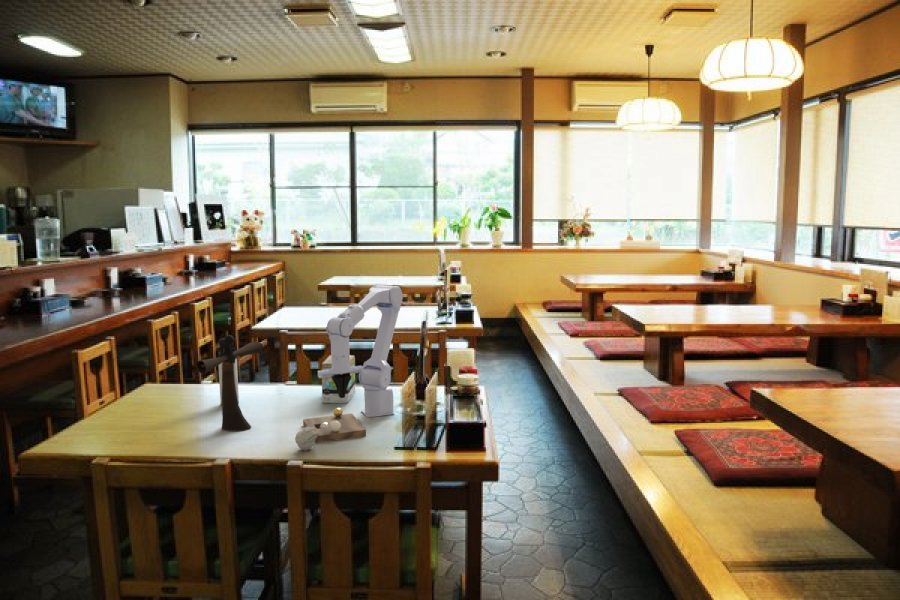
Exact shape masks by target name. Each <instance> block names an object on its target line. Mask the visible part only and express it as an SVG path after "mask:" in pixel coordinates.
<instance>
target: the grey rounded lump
mask: <svg viewBox="0 0 900 600" xmlns="http://www.w3.org/2000/svg"><path fill="white" fill-rule="evenodd" d="M317 436H318V434H317V432H316V431H315V429H314V427H311V428H310V427H303V428H302V429H300V430H299V431H297V433H296V434H295V437H294V439H295V443H296V445H297V447H298V449H299V450H301V451H305V452H306V451H310V450H311V449H313V447H314V445H315V444H316V443H315V439H316V438H317Z"/></svg>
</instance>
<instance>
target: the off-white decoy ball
mask: <svg viewBox="0 0 900 600" xmlns="http://www.w3.org/2000/svg"><path fill="white" fill-rule="evenodd" d="M340 428H341V424H340V422H339V421H336V420H335V421H332V422H331V423H330V429H331V430H332V431H333V432H337V431H339V430H340Z"/></svg>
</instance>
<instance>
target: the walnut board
mask: <svg viewBox="0 0 900 600" xmlns="http://www.w3.org/2000/svg"><path fill="white" fill-rule="evenodd" d="M335 420H336V421H339V422H340V424H341V428H340V430H339V431H337V432H333V431H332V430H331V429H330V427H327V428H320V425H321V423H323V422H327V423H329V425H330V423H331V422H332V421H335ZM302 425H303V428H305V427H310V428H311V427H314V429H315V431H316V432H317V434H318V436H317V438H316V439H315V443H314V444H316V443H317V444H318V443H325V442H331V441H340V440H345V439H352V438H353V439H354V438H360V437H361V438H362V437H366V436H367V429H366V428H365V427H364V426H363V425H362V423H361V422H360V421H359V419H357V417H356V416H355V415H354V414H353V413H351V412H350V413H342V415H341V416H340V417H336V416H334V414H333V415H327V416H317V417H310V418H303V419H302Z"/></svg>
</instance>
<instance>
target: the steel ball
mask: <svg viewBox="0 0 900 600" xmlns="http://www.w3.org/2000/svg"><path fill="white" fill-rule="evenodd" d="M327 427H330V425H329V423H327V422H323V423H321V425H320V428H327Z"/></svg>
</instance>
